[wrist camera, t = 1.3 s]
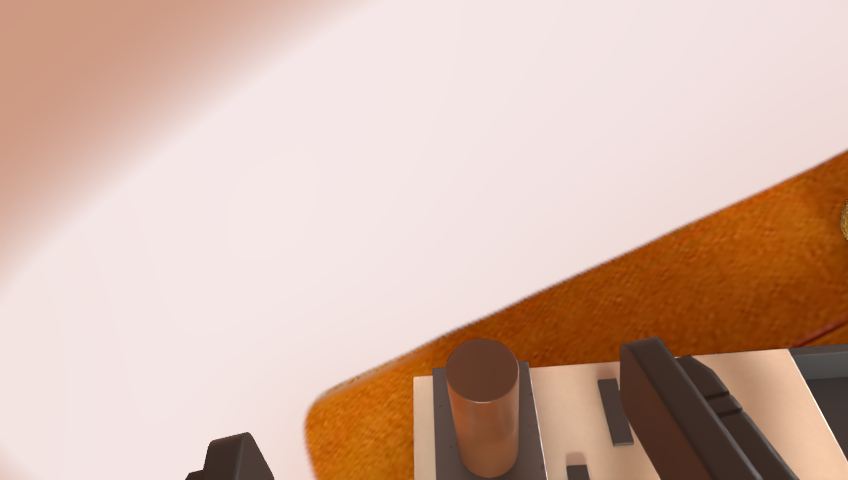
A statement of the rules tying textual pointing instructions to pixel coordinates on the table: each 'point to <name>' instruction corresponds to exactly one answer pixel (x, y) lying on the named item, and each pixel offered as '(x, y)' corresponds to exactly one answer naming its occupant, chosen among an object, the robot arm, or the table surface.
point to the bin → (826, 384)
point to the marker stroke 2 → (615, 412)
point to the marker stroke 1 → (577, 472)
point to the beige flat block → (629, 465)
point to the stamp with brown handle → (486, 416)
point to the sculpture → (844, 220)
